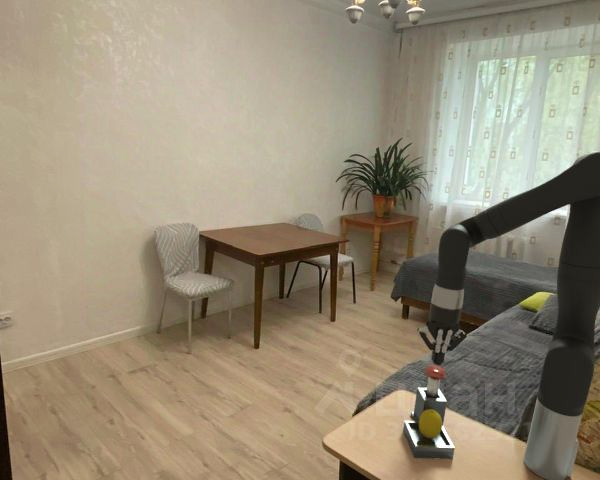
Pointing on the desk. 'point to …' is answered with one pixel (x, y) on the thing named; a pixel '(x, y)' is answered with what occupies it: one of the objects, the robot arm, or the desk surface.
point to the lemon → (430, 423)
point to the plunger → (434, 380)
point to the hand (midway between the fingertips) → (436, 363)
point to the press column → (428, 404)
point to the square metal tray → (427, 443)
